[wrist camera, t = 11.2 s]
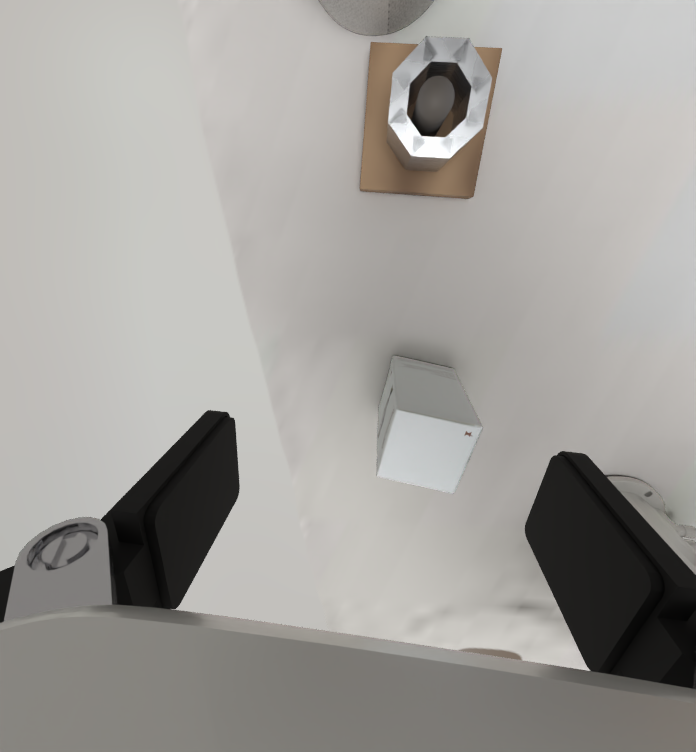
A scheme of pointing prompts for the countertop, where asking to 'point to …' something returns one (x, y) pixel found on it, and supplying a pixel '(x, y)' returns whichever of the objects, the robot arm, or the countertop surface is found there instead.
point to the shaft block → (429, 120)
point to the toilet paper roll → (375, 14)
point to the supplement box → (425, 426)
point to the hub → (468, 108)
